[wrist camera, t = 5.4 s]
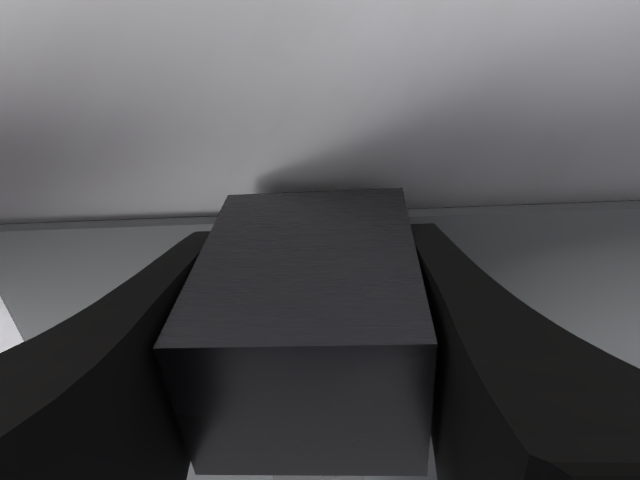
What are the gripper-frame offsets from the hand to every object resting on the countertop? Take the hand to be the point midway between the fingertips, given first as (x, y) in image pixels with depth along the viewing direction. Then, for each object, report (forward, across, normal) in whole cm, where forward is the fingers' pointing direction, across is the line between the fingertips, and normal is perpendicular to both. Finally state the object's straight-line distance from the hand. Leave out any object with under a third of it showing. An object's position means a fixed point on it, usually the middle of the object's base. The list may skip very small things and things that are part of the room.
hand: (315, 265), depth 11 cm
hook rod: (+1, 0, +9) cm, 9 cm away
